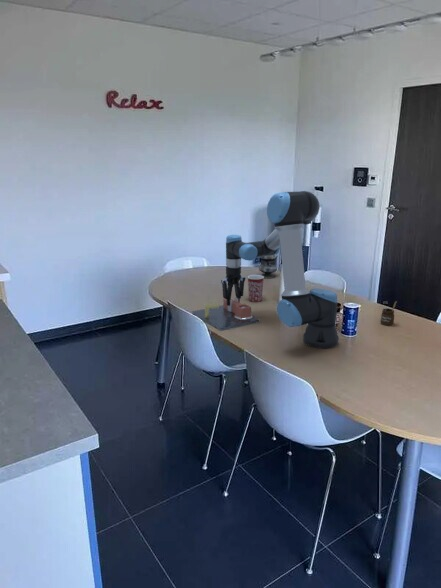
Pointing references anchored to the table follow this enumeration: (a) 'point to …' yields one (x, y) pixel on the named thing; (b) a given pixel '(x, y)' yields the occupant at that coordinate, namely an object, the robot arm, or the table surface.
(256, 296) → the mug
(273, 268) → the apothecary jar
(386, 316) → the utensil holder
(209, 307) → the block
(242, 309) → the link
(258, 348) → the table surface
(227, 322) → the plate
